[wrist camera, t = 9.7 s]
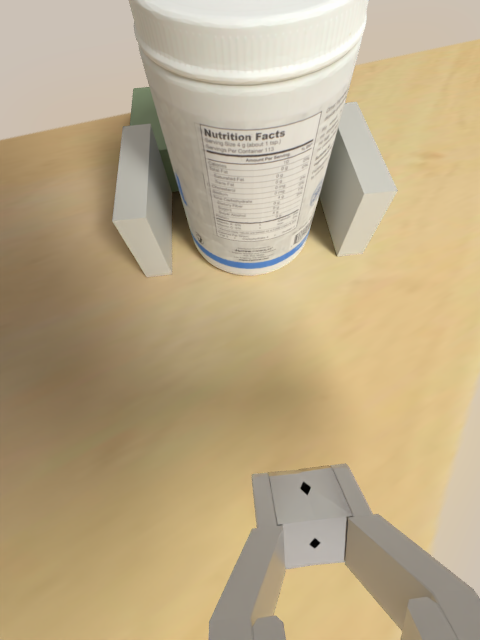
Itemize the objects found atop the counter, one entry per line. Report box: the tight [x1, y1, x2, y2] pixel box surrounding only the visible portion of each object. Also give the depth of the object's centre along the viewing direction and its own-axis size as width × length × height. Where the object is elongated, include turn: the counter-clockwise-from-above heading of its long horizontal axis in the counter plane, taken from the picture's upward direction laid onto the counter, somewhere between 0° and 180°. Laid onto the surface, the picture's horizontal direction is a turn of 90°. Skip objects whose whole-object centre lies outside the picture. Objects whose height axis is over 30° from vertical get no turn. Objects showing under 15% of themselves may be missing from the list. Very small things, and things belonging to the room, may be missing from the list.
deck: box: [112, 87, 398, 277], centre depth 22 cm, size 18×18×9 cm
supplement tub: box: [129, 0, 369, 276], centre depth 17 cm, size 10×10×15 cm
